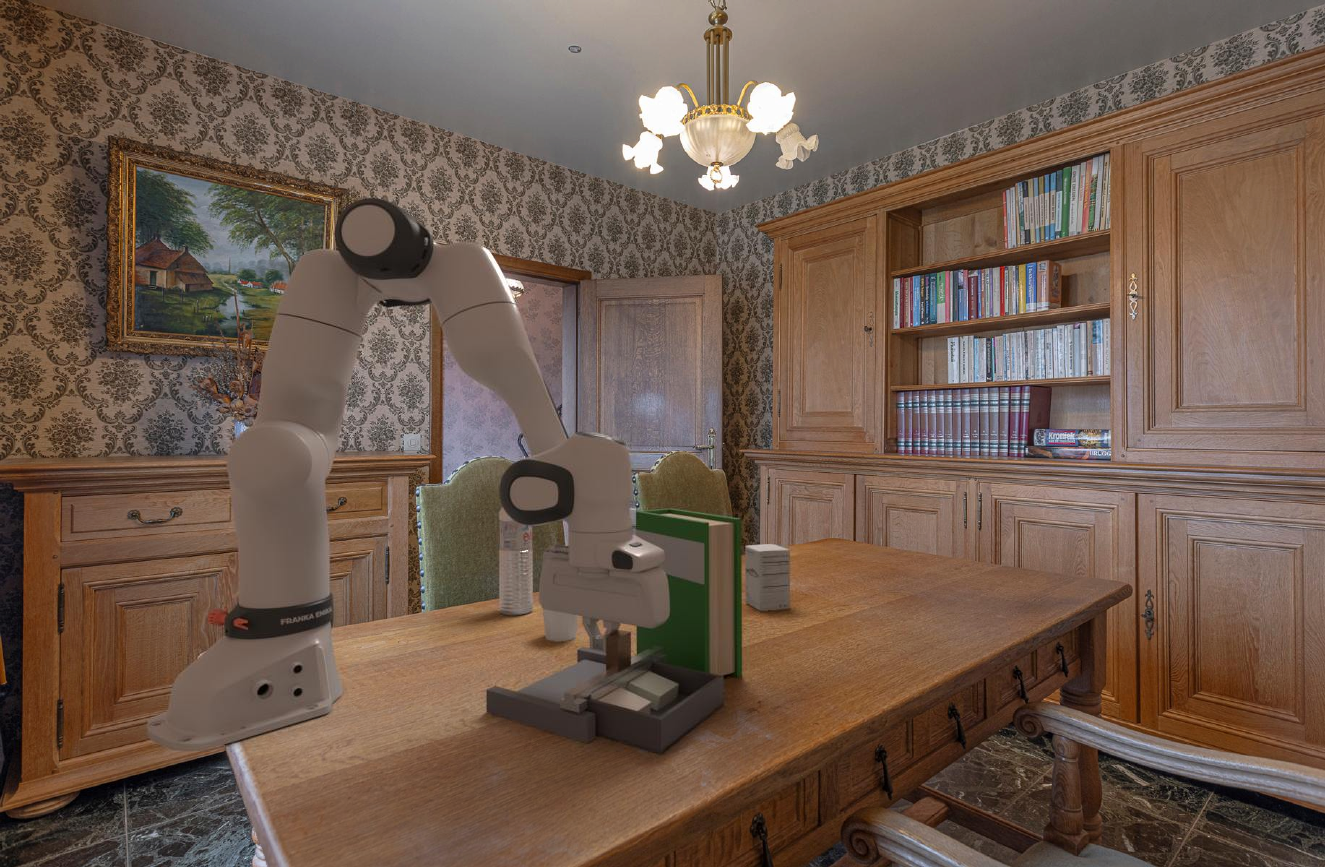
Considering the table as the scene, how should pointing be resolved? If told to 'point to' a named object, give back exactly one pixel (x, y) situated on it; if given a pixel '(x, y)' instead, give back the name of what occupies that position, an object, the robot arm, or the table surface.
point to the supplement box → (767, 577)
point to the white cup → (560, 625)
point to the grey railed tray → (551, 699)
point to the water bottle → (515, 566)
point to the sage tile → (654, 689)
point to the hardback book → (697, 589)
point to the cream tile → (627, 700)
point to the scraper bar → (613, 671)
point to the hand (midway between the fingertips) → (601, 649)
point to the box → (662, 711)
